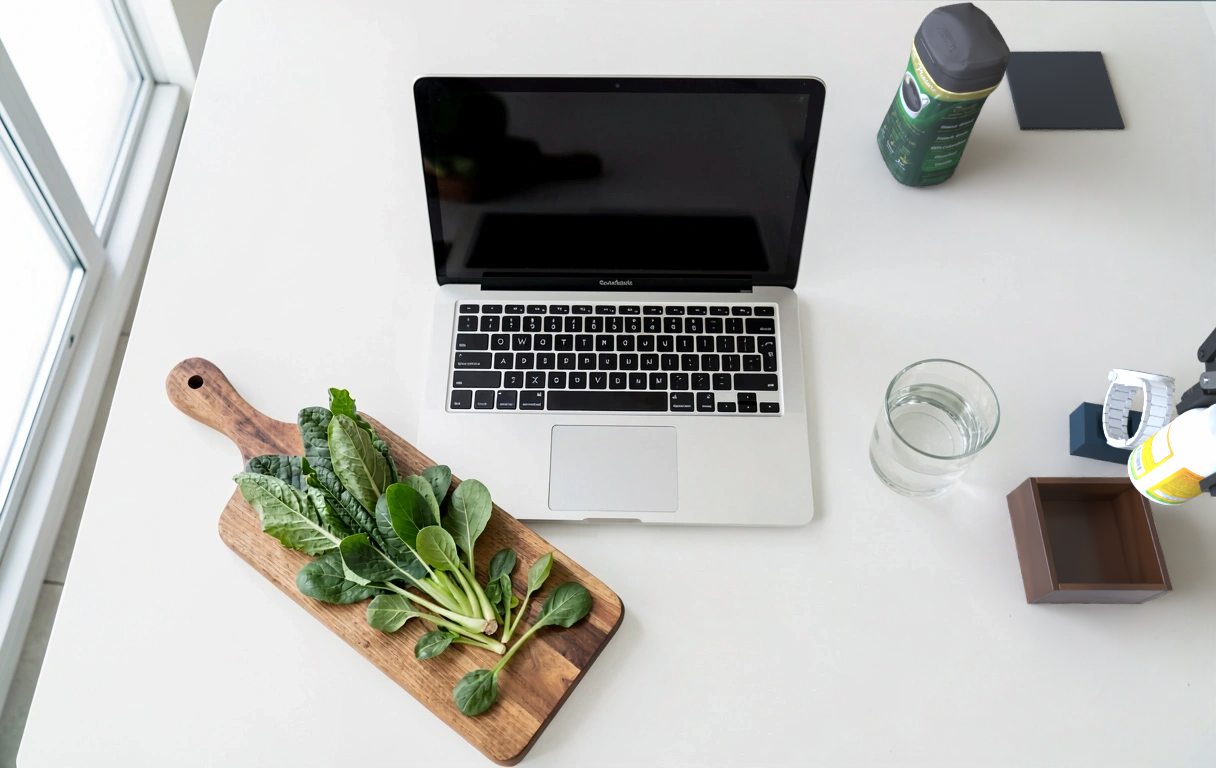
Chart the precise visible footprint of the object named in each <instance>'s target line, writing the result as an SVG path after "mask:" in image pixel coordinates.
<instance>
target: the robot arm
mask: <svg viewBox="0 0 1216 768" xmlns="http://www.w3.org/2000/svg"><path fill="white" fill-rule="evenodd" d="M1196 357H1197V359H1198V362H1200V363H1204V368H1205V371H1202V372H1201V374H1200V375H1199V378H1198V379H1199V380H1198V382H1196V383H1195V384H1193V385H1192V386H1191V387H1190V388H1188V389H1187V390H1186V391H1184V392H1183V393H1182V395H1181V397H1180V402H1178V403H1177V404H1176V405H1175V409H1176V413H1177V415H1178V416H1180V415H1182V414H1183V413H1185V412H1187V411H1189V410H1192V409H1196V408H1209V407H1211V406H1212V405H1214V404H1216V327H1214V329H1213V330H1212V331H1211V332H1210V334H1209V335H1208V336H1207V337H1206V339H1205V340H1204V341H1203V342H1202V344H1201V345H1200V346H1199V347H1198V349H1197V352H1196ZM1199 485H1200V489H1201V492H1204V493H1209V495H1210V497H1211V498H1212V497H1213V498H1216V472H1215V473H1213V474H1211V475H1210V476H1208V477H1206V478H1204V479H1203V480H1201V481H1199Z"/></svg>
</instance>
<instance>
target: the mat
mask: <svg viewBox="0 0 1216 768" xmlns="http://www.w3.org/2000/svg"><path fill="white" fill-rule="evenodd" d="M1005 75H1006V77H1007V78H1006V79H1007V81H1008V86H1009V90H1010V94H1011V99H1012V102H1013V106H1014V110H1015V113H1016V117H1017V122H1018V125H1019V126H1018V127H1019V130H1020V131H1021V130H1024V131H1025V130H1027V131H1029V130H1030V131H1031V130H1032V131H1033V130H1034V131H1035V130H1036V131H1037V130H1038V131H1039V130H1040V131H1041V130H1044V131H1045V130H1051V131H1052V130H1053V131H1054V130H1064V131H1065V130H1067V131H1068V130H1078V131H1079V130H1085V131H1087V130H1088V131H1089V130H1094V131H1095V130H1098V131H1099V130H1100V131H1101V130H1102V131H1103V130H1124V129H1125V127H1126V126H1125V123H1124V120H1123V117H1122V114H1121V111H1120V107H1119V105H1118V101H1117V98H1116V95H1115V91H1114V88H1113V85H1112V82H1111V79H1110V76H1109V73H1108V70H1107V66H1106V63H1105V60H1104V57H1103V54H1102V51H1101V50H1097V51H1096V50H1094V51H1093V50H1092V51H1091V50H1090V51H1087V50H1085V51H1084V50H1082V51H1081V50H1080V51H1079V50H1078V51H1077V50H1074V51H1072V50H1071V51H1070V50H1069V51H1067V50H1066V51H1065V50H1064V51H1062V50H1061V51H1059V50H1058V51H1051V50H1050V51H1045V50H1044V51H1043V50H1042V51H1040V50H1039V51H1037V50H1036V51H1035V50H1034V51H1031V50H1030V51H1026V50H1025V51H1023V50H1022V51H1019V50H1018V51H1016V50H1015V51H1010V60H1009V63H1008V65H1007V68H1006V71H1005Z"/></svg>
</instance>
